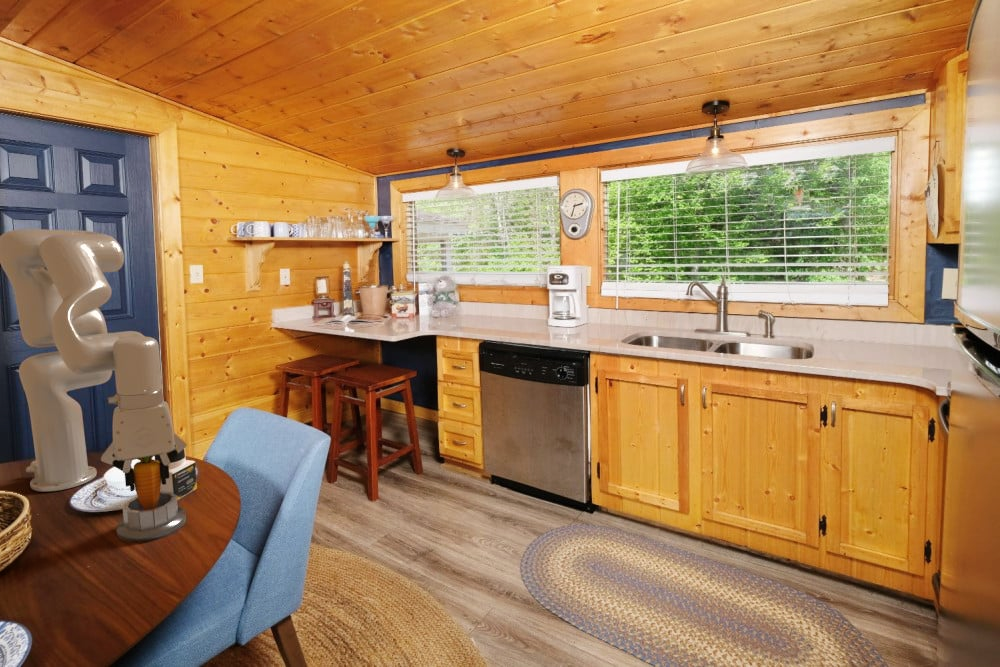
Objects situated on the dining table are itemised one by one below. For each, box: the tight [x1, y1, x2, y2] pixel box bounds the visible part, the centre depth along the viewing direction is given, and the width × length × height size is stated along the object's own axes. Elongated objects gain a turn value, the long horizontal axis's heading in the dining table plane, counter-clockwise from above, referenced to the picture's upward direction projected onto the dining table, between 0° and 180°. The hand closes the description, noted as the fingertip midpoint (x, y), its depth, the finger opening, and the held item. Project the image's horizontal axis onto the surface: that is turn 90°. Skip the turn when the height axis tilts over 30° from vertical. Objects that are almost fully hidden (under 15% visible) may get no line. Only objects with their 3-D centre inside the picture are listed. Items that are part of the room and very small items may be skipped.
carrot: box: [132, 456, 161, 510], centre depth 111 cm, size 5×5×15 cm
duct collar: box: [116, 491, 187, 543], centre depth 112 cm, size 12×12×6 cm
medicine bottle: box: [154, 444, 198, 501], centre depth 126 cm, size 7×7×12 cm
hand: (148, 484), depth 111 cm, fingers closed on carrot, 4 cm apart
